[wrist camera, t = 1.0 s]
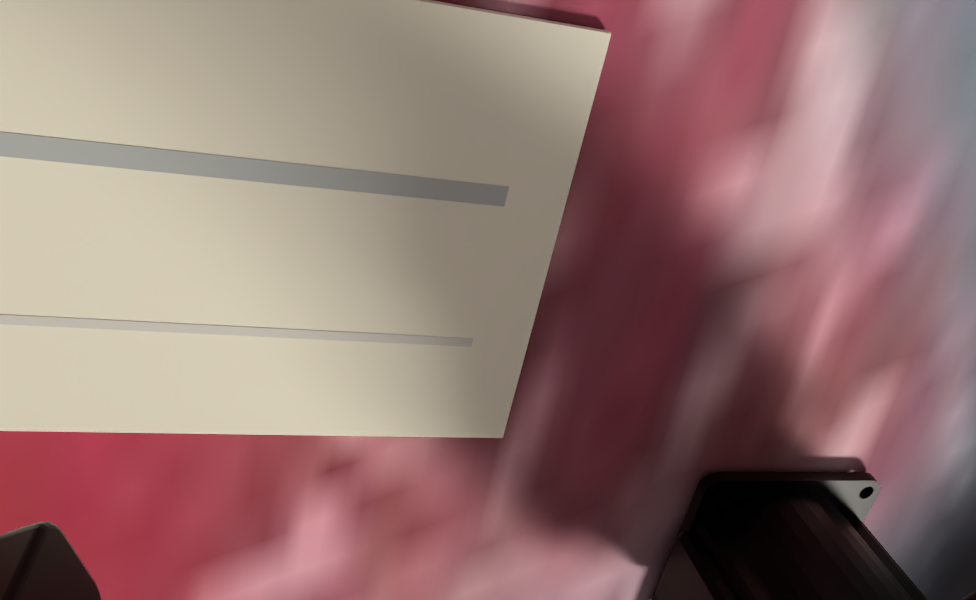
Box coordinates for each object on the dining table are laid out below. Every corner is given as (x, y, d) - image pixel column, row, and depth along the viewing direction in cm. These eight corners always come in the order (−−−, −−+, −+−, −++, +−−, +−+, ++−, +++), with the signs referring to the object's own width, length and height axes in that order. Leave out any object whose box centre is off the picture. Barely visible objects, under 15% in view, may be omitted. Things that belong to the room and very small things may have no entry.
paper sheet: (606, 29, 20) (611, 34, 20) (500, 431, 25) (503, 438, 25) (-278, -122, 15) (-288, -120, 15) (-189, 419, 20) (-194, 428, 20)
